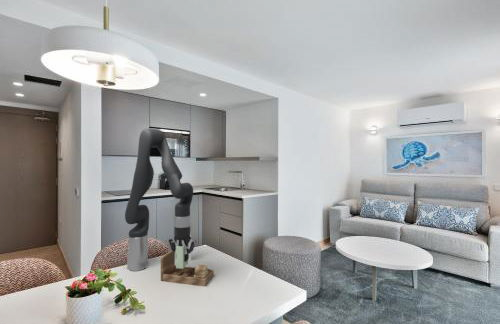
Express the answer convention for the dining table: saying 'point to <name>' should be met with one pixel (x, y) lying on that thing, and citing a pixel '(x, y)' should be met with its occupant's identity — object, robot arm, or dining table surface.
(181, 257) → the pale green block
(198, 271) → the offcut
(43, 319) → the dining table surface
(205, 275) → the offcut
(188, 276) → the rack
